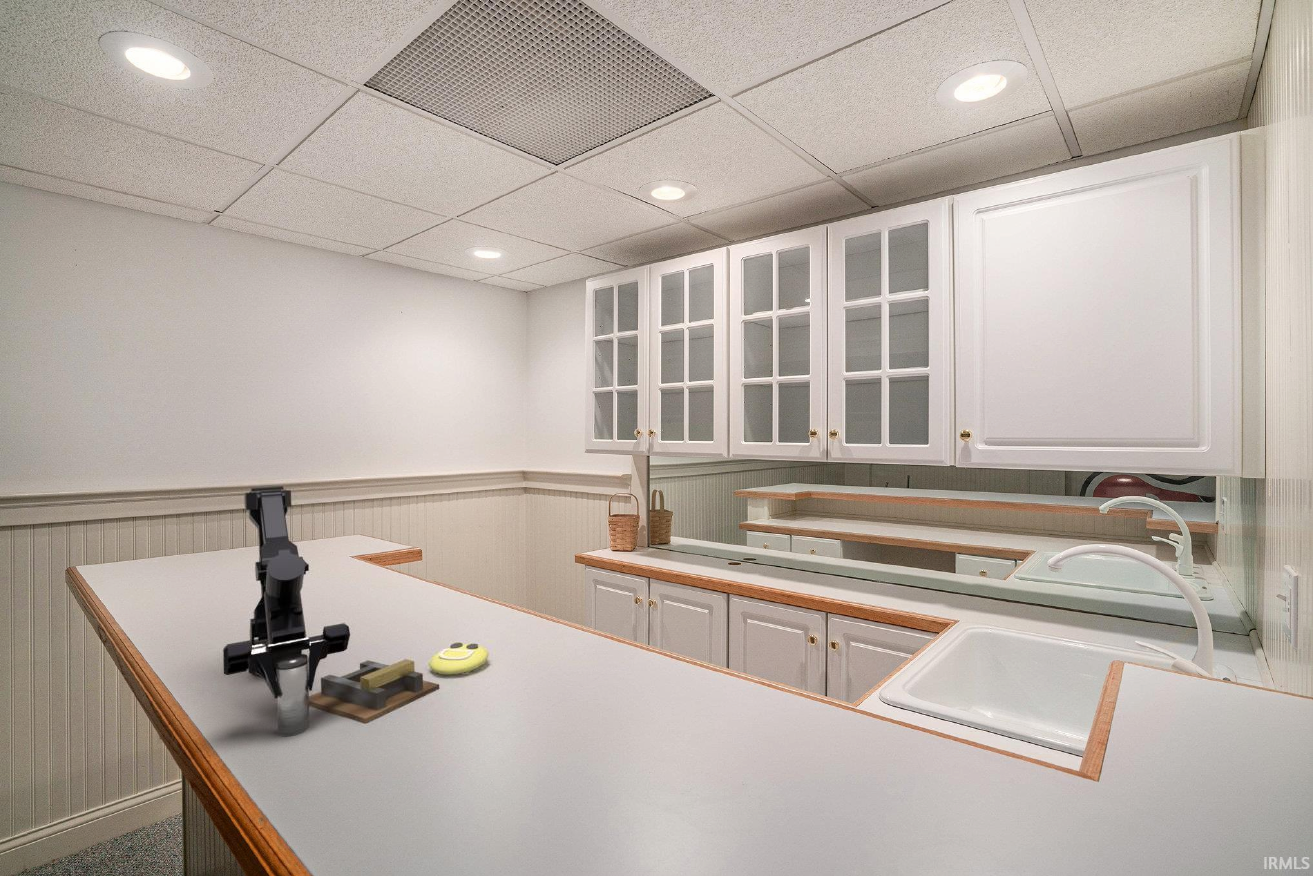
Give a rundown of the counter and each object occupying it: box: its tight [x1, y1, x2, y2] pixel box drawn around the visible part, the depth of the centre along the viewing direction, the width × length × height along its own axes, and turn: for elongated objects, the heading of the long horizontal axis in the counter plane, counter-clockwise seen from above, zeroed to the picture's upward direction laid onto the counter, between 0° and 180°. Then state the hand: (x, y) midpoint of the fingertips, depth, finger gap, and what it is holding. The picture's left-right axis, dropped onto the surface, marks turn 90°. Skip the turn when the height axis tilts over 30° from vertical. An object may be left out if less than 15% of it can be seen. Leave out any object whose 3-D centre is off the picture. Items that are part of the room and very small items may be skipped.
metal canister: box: [275, 653, 311, 737], centre depth 105 cm, size 5×5×12 cm
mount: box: [309, 659, 440, 724], centre depth 118 cm, size 18×16×4 cm
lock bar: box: [360, 658, 416, 691], centre depth 116 cm, size 2×10×2 cm, turn 151°
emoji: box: [428, 642, 489, 675], centre depth 132 cm, size 4×12×12 cm
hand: (293, 693), depth 104 cm, fingers closed on metal canister, 5 cm apart
